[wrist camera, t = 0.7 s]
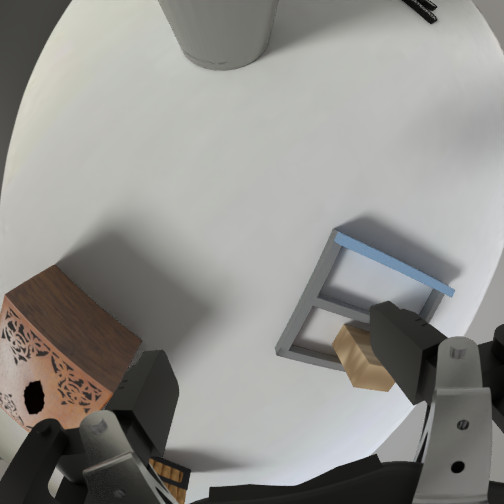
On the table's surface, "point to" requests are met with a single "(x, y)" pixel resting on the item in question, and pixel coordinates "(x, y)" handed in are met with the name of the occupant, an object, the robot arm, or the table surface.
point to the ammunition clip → (172, 477)
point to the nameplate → (423, 9)
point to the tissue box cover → (58, 352)
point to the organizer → (341, 308)
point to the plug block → (361, 360)
